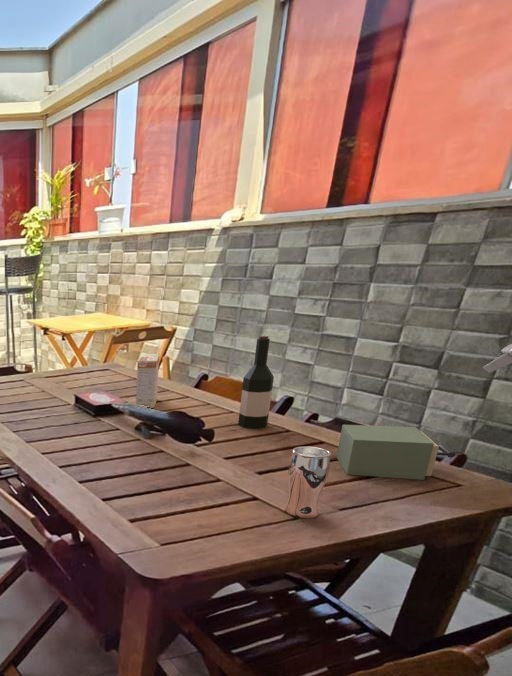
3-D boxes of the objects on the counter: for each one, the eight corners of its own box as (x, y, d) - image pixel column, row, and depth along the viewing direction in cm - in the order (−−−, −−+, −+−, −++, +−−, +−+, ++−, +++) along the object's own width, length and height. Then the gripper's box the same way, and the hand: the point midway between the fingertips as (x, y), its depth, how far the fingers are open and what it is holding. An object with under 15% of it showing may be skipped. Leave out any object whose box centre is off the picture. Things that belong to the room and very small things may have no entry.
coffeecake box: (139, 398, 211) (141, 353, 205) (157, 399, 208) (160, 353, 201) (134, 408, 199) (136, 360, 193) (154, 408, 196) (156, 360, 189)
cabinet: (407, 461, 130) (415, 427, 126) (424, 480, 120) (434, 443, 116) (336, 457, 137) (342, 424, 134) (346, 474, 127) (353, 439, 124)
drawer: (436, 460, 126) (444, 432, 124) (454, 478, 117) (463, 447, 115) (348, 455, 135) (353, 428, 132) (358, 471, 126) (364, 442, 123)
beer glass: (311, 505, 114) (322, 445, 109) (326, 519, 108) (338, 457, 103) (277, 504, 116) (286, 446, 111) (289, 518, 110) (299, 457, 105)
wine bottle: (240, 428, 165) (250, 339, 155) (236, 421, 172) (245, 335, 162) (269, 429, 162) (282, 337, 152) (264, 421, 169) (276, 333, 159)
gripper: (543, 318, 115) (471, 359, 124) (559, 315, 101) (476, 361, 110) (569, 337, 113) (493, 378, 122) (588, 337, 99) (501, 382, 108)
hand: (485, 370), depth 116 cm, fingers closed
